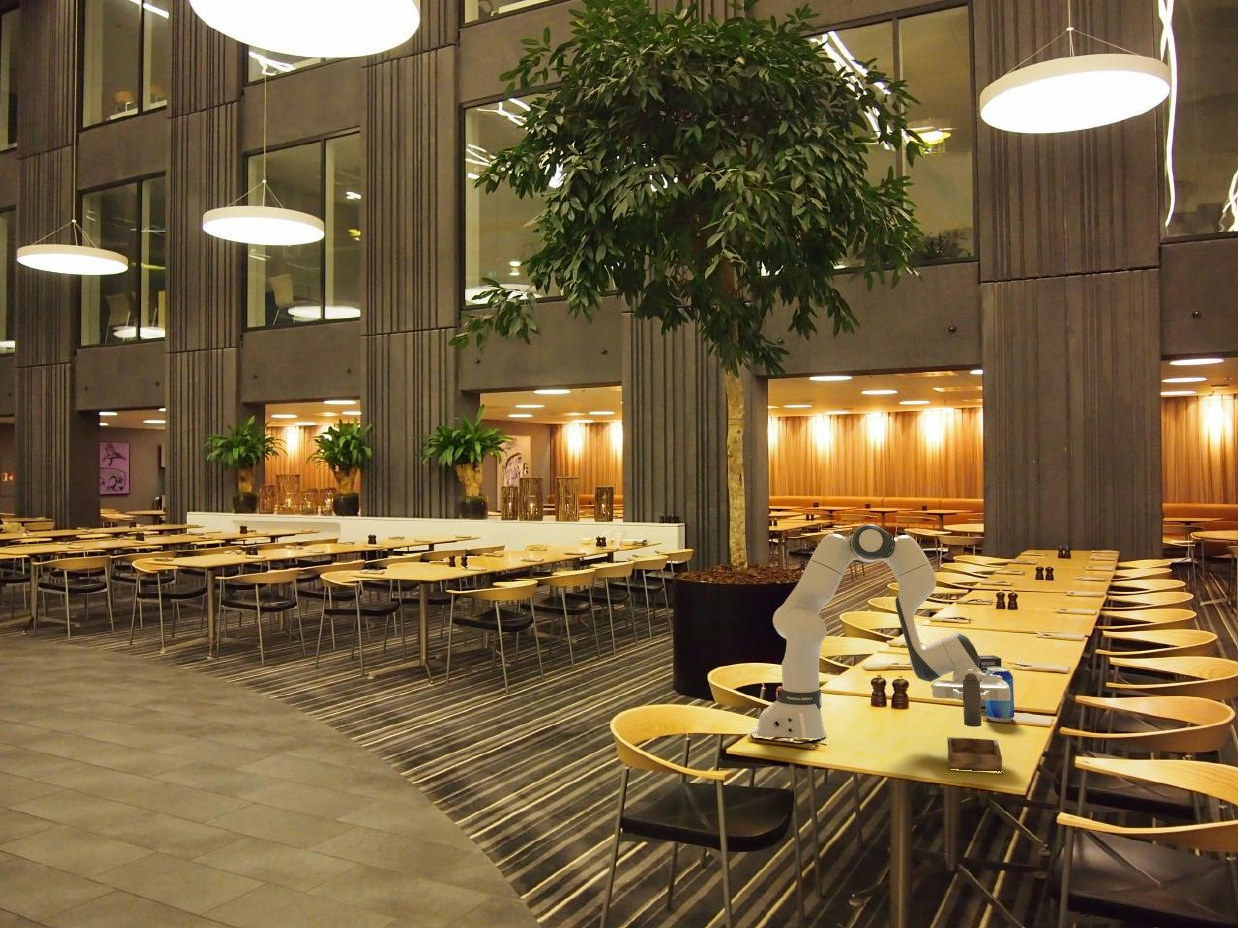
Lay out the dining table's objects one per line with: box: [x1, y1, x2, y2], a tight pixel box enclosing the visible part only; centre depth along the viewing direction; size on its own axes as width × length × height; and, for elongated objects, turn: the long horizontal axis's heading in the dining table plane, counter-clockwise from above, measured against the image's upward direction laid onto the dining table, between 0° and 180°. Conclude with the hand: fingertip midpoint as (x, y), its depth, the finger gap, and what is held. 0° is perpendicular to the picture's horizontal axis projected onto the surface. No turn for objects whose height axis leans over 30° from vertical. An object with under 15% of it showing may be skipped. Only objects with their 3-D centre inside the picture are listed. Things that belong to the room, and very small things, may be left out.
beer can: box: [985, 666, 1015, 723], centre depth 293 cm, size 8×8×16 cm
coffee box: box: [978, 654, 1002, 708], centre depth 311 cm, size 9×6×16 cm
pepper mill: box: [962, 669, 982, 728], centre depth 249 cm, size 4×4×15 cm
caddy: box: [946, 736, 1003, 772], centre depth 249 cm, size 13×16×4 cm
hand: (971, 697), depth 249 cm, fingers closed on pepper mill, 4 cm apart
